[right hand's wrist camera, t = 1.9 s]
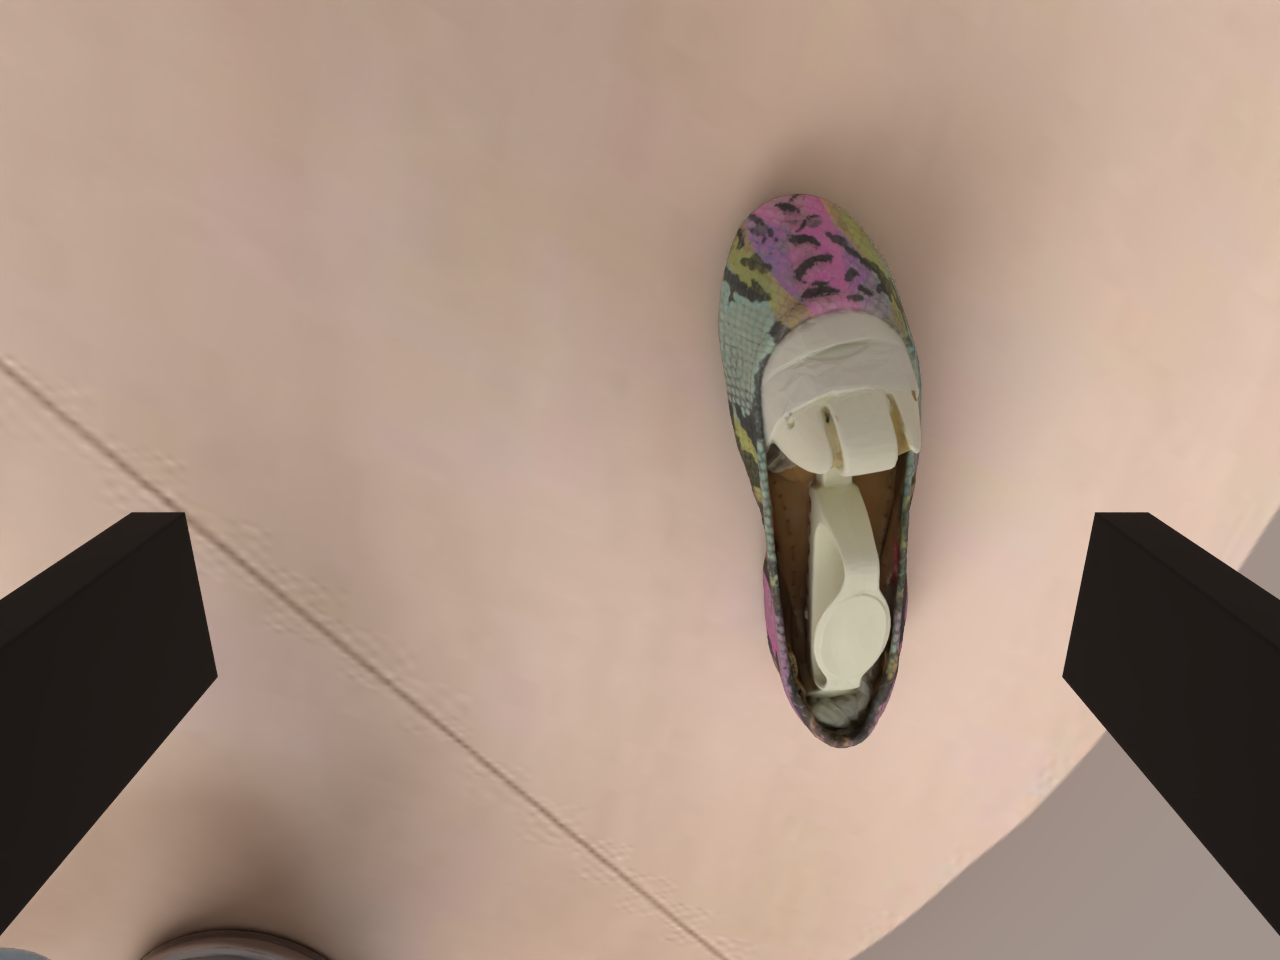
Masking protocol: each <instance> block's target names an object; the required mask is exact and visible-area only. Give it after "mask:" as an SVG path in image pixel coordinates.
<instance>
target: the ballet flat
mask: <svg viewBox="0 0 1280 960" xmlns="http://www.w3.org/2000/svg"><path fill="white" fill-rule="evenodd" d="M718 322H719V339H720V347H721V354H722V361H723V366H724V373H725V379H726V386H727V394H728V401H729V409H730V415H731V419H732V425H733V428H734V432H735V437H736V442H737V446H738V449H739V452H740V454H741V457H742V460H743V462H744V464H745V467H746V470H747V473H748V476H749V478H750V482H751V485H752V491H753V494H754V496H755V498H756V501H757V503H758V506H759V508H760V511H761V515H762V521H763V525H764V529H765V535H766V543H767V551H766V557H765V561H764V566H763V585H764V603H765V618H766V626H767V634H768V636H767V637H768V644H769V648H770V652H771V655H772V658H773V661H774V664H775V666H776V668H777V670H778V672H779V674H780V676H781V680H782V684H783V687H784V690H785V693H786V695H787V697H788V700H789V702H790V704H791V706H792V708H793V709H794V711H795V712H796V714H797V715H798V717H799V718H800V719H801V721H802V722H803V723H804V724H805V725H806V726H807V727H808V729H809V730H810V731H811V732H812V733H813V735H814V736H815V737H817V738H818V739H820V740H821V741H823V742H824V743H826V744H828V745H829V746H832V747H835V748H848V747H851V746H855V745H857V744H859V743H861V742H863V741H864V740H865V739H866V738H867V737H868V736H869V735H870V734H871V732H872V731H873V729H874V728H875V726H876V724H877V722H878V719H879V718H880V716H881V715H882V713H883V712H884V710H885V708H886V705H887V703H888V701H889V698H890V696H891V693H892V690H893V687H894V683H895V680H896V676H897V672H898V664H899V655H900V651H901V647H902V641H903V632H904V625H905V620H906V612H907V603H908V600H907V575H906V564H907V558H906V553H907V540H908V525H909V509H910V505H911V500H912V496H913V491H914V486H915V478H916V469H917V464H918V458H919V452H920V450H921V379H920V369H919V361H918V357H917V353H916V349H915V344H914V341H913V338H912V335H911V332H910V329H909V326H908V323H907V320H906V317H905V314H904V310H903V307H902V304H901V301H900V298H899V295H898V292H897V289H896V287H895V284H894V282H893V279H892V277H891V275H890V273H889V271H888V269H887V267H886V265H885V263H884V261H883V259H882V258H881V256H880V255H879V253H878V252H877V250H876V249H875V247H874V246H873V244H872V243H871V241H870V240H869V238H868V237H867V235H866V234H865V233H864V232H863V230H862V229H861V228H860V227H859V225H858V224H857V223H856V222H855V221H854V220H853V219H852V218H851V217H850V216H849V215H848V214H847V213H845V212H844V211H843V210H842V209H840V208H839V207H837V206H835V205H834V204H832V203H830V202H828V201H826V200H824V199H821V198H818V197H814V196H809V195H803V194H796V195H787V196H781V197H777V198H775V199H772V200H770V201H768V202H766V203H764V204H763V205H761V206H760V207H759V208H758V209H756V210H755V211H754V212H753V213H751V214H750V215H749V217H748V218H747V219H746V220H745V221H744V222H743V224H742V225H741V227H740V228H739V230H738V232H737V235H736V237H735V239H734V241H733V243H732V246H731V249H730V253H729V256H728V260H727V263H726V267H725V271H724V276H723V282H722V287H721V294H720V305H719V317H718Z"/></svg>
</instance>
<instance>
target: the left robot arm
mask: <svg viewBox="0 0 1280 960" xmlns="http://www.w3.org/2000/svg"><path fill="white" fill-rule="evenodd" d="M0 960H50V959H48V958H46V957H44V956H42V955H39V954H37V953H34V952H30V951H26V950H20V949H14V948H0ZM142 960H326V959H325V958H323V957H322V956H320V955H318V954H317V953H315V952H313V951H311V950H309V949H307V948H305V947H303V946H301V945H299V944H296V943H294V942H291V941H289V940H285V939H282V938H279V937H276V936H272V935H267V934H263V933H257V932H251V931H241V930H213V931H205V932H198V933H194V934H189V935H186V936H182V937H179V938H176V939H174V940H171V941H169V942H167V943H165V944H163V945H161V946H159V947H157V948H156V949H154V950H153V951H151V952H150V953H149V954H147V955H146V956H145V957H144V958H143V959H142Z"/></svg>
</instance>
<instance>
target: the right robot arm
mask: <svg viewBox="0 0 1280 960" xmlns="http://www.w3.org/2000/svg"><path fill="white" fill-rule="evenodd" d="M217 677H218V676H217V671H216V666H215V661H214V656H213V651H212V646H211V641H210V636H209V631H208V626H207V621H206V616H205V611H204V606H203V601H202V596H201V591H200V586H199V581H198V576H197V571H196V566H195V561H194V556H193V551H192V546H191V541H190V536H189V531H188V526H187V521H186V516H185V512H132V513H130V514H129V515H127V516H126V517H124V518H123V519H121V520H120V521H118V522H117V523H115V524H114V525H112V526H111V527H109V528H108V529H106V530H105V531H103V532H102V533H100V534H99V535H97V536H96V537H94V538H93V539H91V540H90V541H88V542H87V543H85V544H84V545H82V546H81V547H79V548H78V549H76V550H75V551H73V552H72V553H70V554H69V555H67V556H66V557H64V558H63V559H61V560H60V561H58V562H57V563H55V564H54V565H52V566H51V567H49V568H48V569H46V570H45V571H43V572H42V573H40V574H38V575H37V576H35V577H34V578H32V579H31V580H29V581H28V582H26V583H25V584H23V585H22V586H20V587H19V588H17V589H16V590H14V591H13V592H11V593H10V594H8V595H7V596H5V597H4V598H2V599H1V600H0V935H1V934H2V933H3V932H4V931H5V929H6V928H7V927H8V926H9V925H10V924H11V922H12V921H13V920H14V919H15V918H16V916H17V915H18V914H19V913H20V912H21V910H22V909H23V908H24V907H25V906H26V904H27V903H28V902H29V901H30V900H31V899H32V897H33V896H34V895H35V894H36V893H37V891H38V890H39V889H40V888H41V887H42V885H43V884H44V883H45V882H46V881H47V879H48V878H49V877H50V876H51V875H52V874H53V872H54V871H55V870H56V869H57V868H58V866H59V865H60V864H61V863H62V862H63V860H64V859H65V858H66V857H67V856H68V854H69V853H70V852H71V851H72V850H73V849H74V847H75V846H76V845H77V844H78V843H79V841H80V840H81V839H82V838H83V837H84V835H85V834H86V833H87V832H88V831H89V829H90V828H91V827H92V826H93V825H94V824H95V822H96V821H97V820H98V819H99V818H100V816H101V815H102V814H103V813H104V812H105V810H106V809H107V808H108V807H109V806H110V804H111V803H112V802H113V801H114V800H115V799H116V797H117V796H118V795H119V794H120V793H121V791H122V790H123V789H124V788H125V787H126V785H127V784H128V783H129V782H130V781H131V779H132V778H133V777H134V776H135V775H136V774H137V772H138V771H139V770H140V769H141V768H142V766H143V765H144V764H145V763H146V762H147V760H148V759H149V758H150V757H151V756H152V754H153V753H154V752H155V751H156V750H157V748H158V747H159V746H160V745H161V744H162V743H163V741H164V740H165V739H166V738H167V737H168V735H169V734H170V733H171V732H172V731H173V729H174V728H175V727H176V726H177V725H178V723H179V722H180V721H181V720H182V719H183V718H184V716H185V715H186V714H187V713H188V712H189V710H190V709H191V708H192V707H193V706H194V704H195V703H196V702H197V701H198V700H199V698H200V697H201V696H202V695H203V694H204V693H205V691H206V690H207V689H208V688H209V687H210V685H211V684H212V683H213V682H214V681H215V679H216V678H217ZM1062 677H1063V678H1064V679H1065V681H1066V682H1067V683H1068V684H1069V685H1070V687H1071V688H1072V689H1073V690H1074V691H1075V693H1076V694H1077V695H1078V696H1079V697H1080V698H1081V700H1082V701H1083V702H1084V703H1085V704H1086V706H1087V707H1088V708H1089V709H1090V710H1091V712H1092V713H1093V714H1094V715H1095V716H1096V718H1097V719H1098V720H1099V721H1100V722H1101V723H1102V725H1103V726H1104V727H1105V728H1106V729H1107V731H1108V732H1109V733H1110V734H1111V735H1112V737H1113V738H1114V739H1115V740H1116V741H1117V743H1118V744H1119V745H1120V746H1121V747H1122V748H1123V750H1124V751H1125V752H1126V753H1127V754H1128V756H1129V757H1130V758H1131V759H1132V760H1133V762H1134V763H1135V764H1136V765H1137V766H1138V767H1139V769H1140V770H1141V771H1142V772H1143V773H1144V775H1145V776H1146V777H1147V778H1148V779H1149V781H1150V782H1151V783H1152V784H1153V785H1154V787H1155V788H1156V789H1157V790H1158V791H1159V792H1160V794H1161V795H1162V796H1163V797H1164V799H1165V800H1166V801H1167V802H1168V803H1169V804H1170V806H1171V807H1172V808H1173V809H1174V810H1175V812H1176V813H1177V814H1178V815H1179V816H1180V818H1181V819H1182V820H1183V821H1184V822H1185V823H1186V825H1187V826H1188V827H1189V828H1190V829H1191V831H1192V832H1193V833H1194V834H1195V835H1196V837H1197V838H1198V839H1199V840H1200V841H1201V843H1202V844H1203V845H1204V846H1205V847H1206V848H1207V850H1208V851H1209V852H1210V853H1211V854H1212V856H1213V857H1214V858H1215V859H1216V860H1217V862H1218V863H1219V864H1220V865H1221V866H1222V868H1223V869H1224V870H1225V871H1226V872H1227V874H1228V875H1229V876H1230V877H1231V878H1232V879H1233V881H1234V882H1235V883H1236V884H1237V885H1238V886H1239V888H1240V889H1241V890H1242V891H1243V893H1244V894H1245V895H1246V896H1247V897H1248V899H1249V900H1250V901H1251V902H1252V903H1253V904H1254V906H1255V907H1256V908H1257V909H1258V910H1259V912H1260V913H1261V914H1262V915H1263V916H1264V918H1265V919H1266V920H1267V921H1268V922H1269V924H1270V925H1271V926H1272V927H1273V928H1274V929H1275V931H1276V932H1277V933H1278V934H1279V935H1280V600H1279V599H1278V598H1276V597H1275V596H1273V595H1272V594H1270V593H1269V592H1267V591H1265V590H1264V589H1263V588H1261V587H1260V586H1258V585H1256V584H1255V583H1254V582H1252V581H1251V580H1249V579H1248V578H1246V577H1245V576H1243V575H1242V574H1240V573H1238V572H1237V571H1235V570H1234V569H1232V568H1231V567H1229V566H1228V565H1226V564H1225V563H1223V562H1222V561H1220V560H1219V559H1217V558H1216V557H1214V556H1213V555H1211V554H1210V553H1208V552H1207V551H1205V550H1204V549H1202V548H1201V547H1199V546H1198V545H1196V544H1195V543H1193V542H1192V541H1190V540H1189V539H1187V538H1186V537H1184V536H1183V535H1181V534H1180V533H1178V532H1177V531H1175V530H1174V529H1172V528H1171V527H1169V526H1168V525H1166V524H1165V523H1163V522H1162V521H1160V520H1159V519H1157V518H1156V517H1154V516H1153V515H1151V514H1150V513H1148V512H1095V516H1094V521H1093V526H1092V531H1091V536H1090V541H1089V546H1088V551H1087V556H1086V561H1085V566H1084V571H1083V576H1082V581H1081V586H1080V591H1079V596H1078V601H1077V606H1076V611H1075V616H1074V621H1073V626H1072V631H1071V636H1070V641H1069V646H1068V651H1067V656H1066V661H1065V666H1064V671H1063V676H1062Z"/></svg>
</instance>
